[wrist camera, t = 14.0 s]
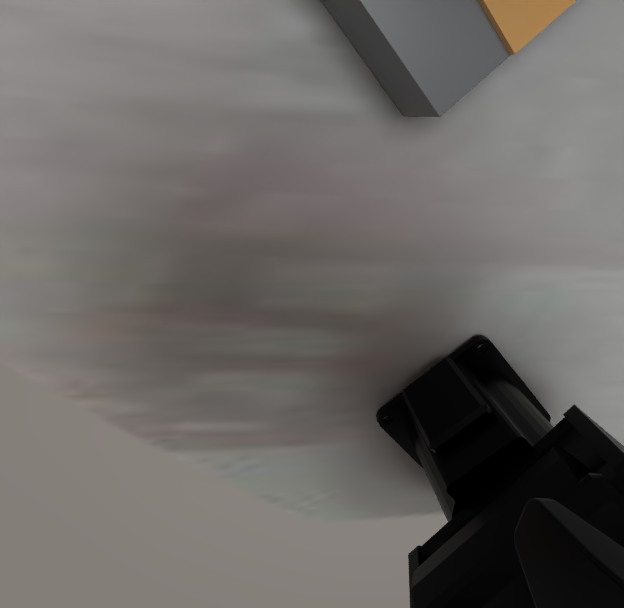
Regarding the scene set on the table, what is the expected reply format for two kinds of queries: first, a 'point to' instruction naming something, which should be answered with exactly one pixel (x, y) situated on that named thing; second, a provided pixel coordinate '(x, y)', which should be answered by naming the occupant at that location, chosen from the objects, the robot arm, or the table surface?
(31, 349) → the table surface
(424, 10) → the grey peg socket base
